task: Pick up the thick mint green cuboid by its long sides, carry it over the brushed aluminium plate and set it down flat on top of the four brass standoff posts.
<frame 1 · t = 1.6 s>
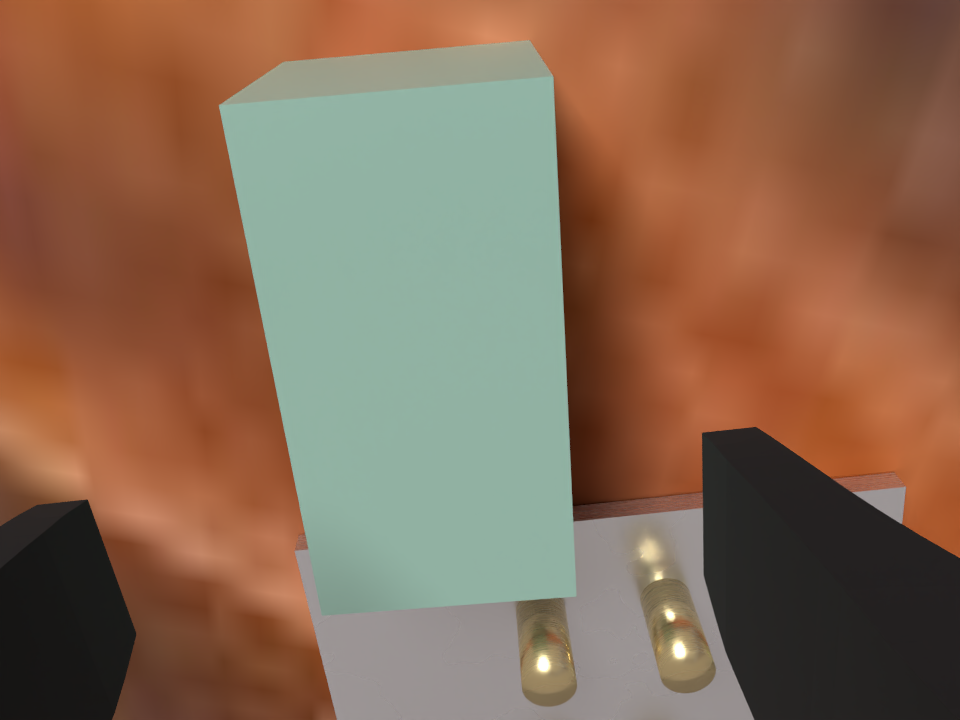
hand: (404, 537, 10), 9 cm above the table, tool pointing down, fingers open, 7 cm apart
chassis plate: (606, 692, 23), on the table
mint green cuboid: (431, 275, 19), on the table
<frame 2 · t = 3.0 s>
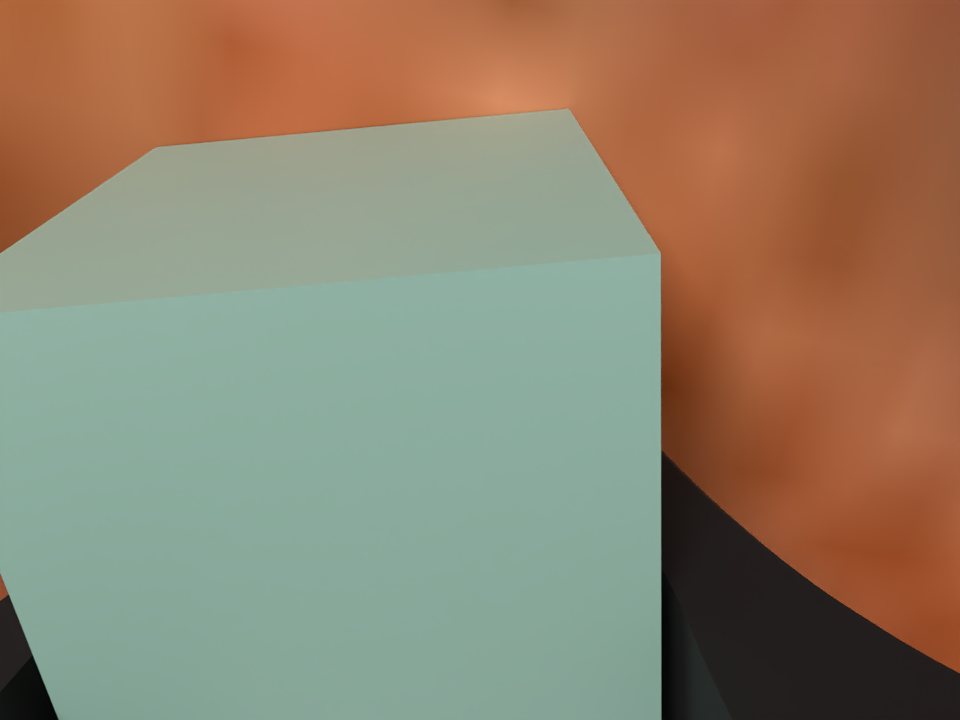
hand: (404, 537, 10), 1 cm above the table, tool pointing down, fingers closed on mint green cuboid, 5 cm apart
mint green cuboid: (410, 472, 12), on the table, touching gripper
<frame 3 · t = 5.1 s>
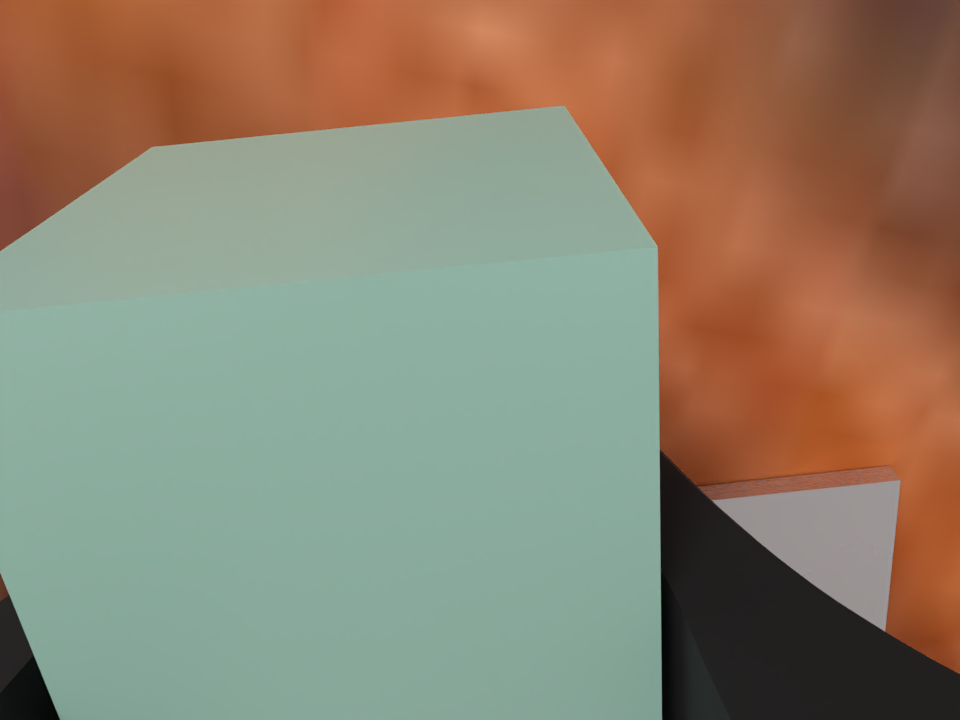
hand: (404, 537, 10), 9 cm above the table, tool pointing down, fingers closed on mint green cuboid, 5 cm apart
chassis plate: (603, 687, 24), on the table
mint green cuboid: (409, 470, 12), point 7 cm above the table, touching gripper
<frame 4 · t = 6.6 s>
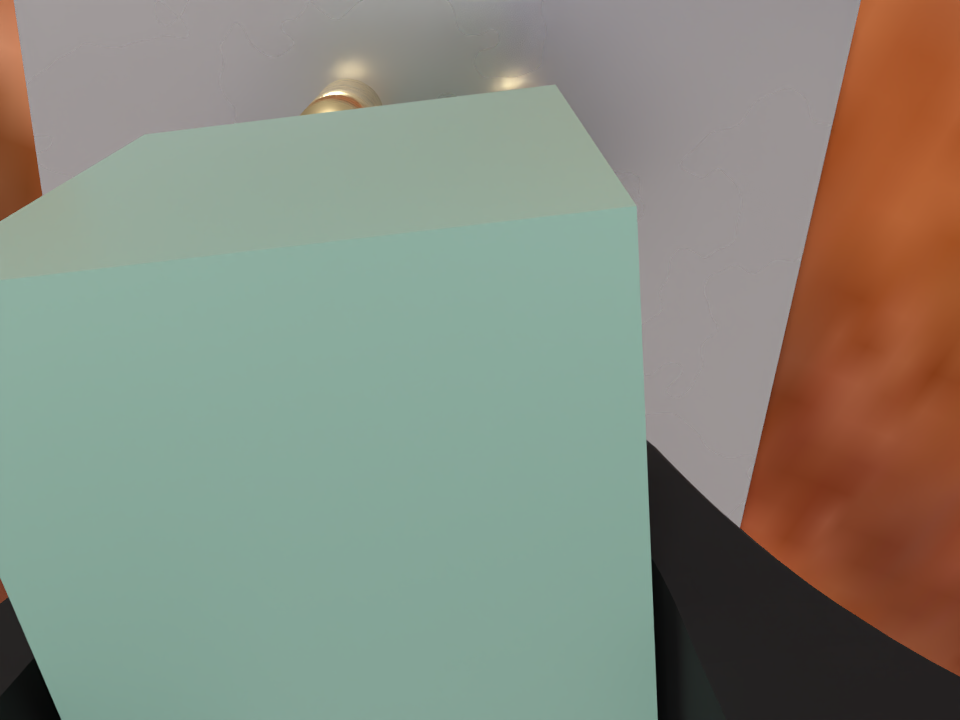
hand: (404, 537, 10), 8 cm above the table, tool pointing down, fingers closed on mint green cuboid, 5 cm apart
standoff posts: (425, 330, 16), on the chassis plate, point 1 cm above the table
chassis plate: (428, 294, 18), on the table
mint green cuboid: (408, 456, 12), point 6 cm above the table, touching gripper
when the fingers open (5 cm above the table, at t = 7.7 s): mint green cuboid stays where it is, resting on standoff posts.
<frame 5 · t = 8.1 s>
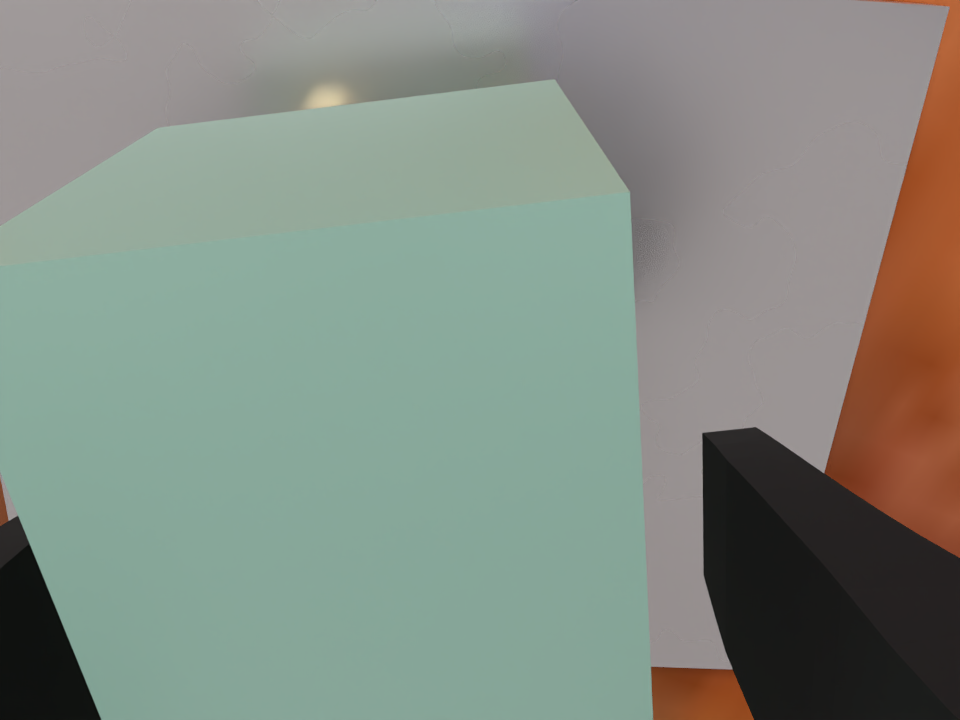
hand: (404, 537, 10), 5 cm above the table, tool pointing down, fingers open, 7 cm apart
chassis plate: (421, 359, 15), on the table
mint green cuboid: (412, 440, 12), point 3 cm above the table, touching standoff posts
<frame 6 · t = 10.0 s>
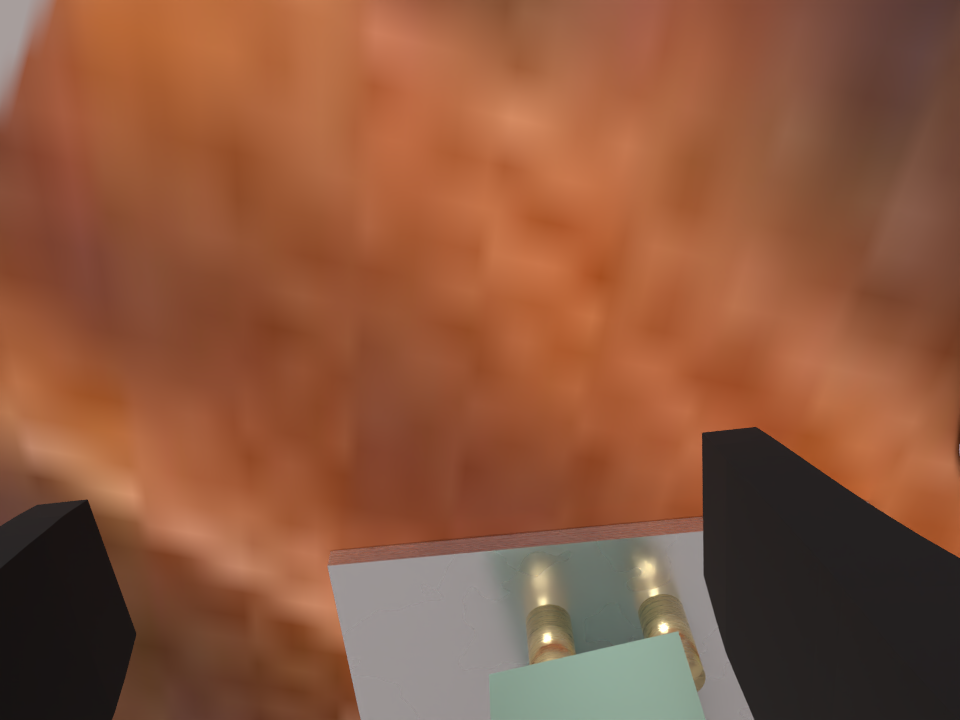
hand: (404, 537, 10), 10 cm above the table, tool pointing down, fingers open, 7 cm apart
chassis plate: (606, 696, 26), on the table
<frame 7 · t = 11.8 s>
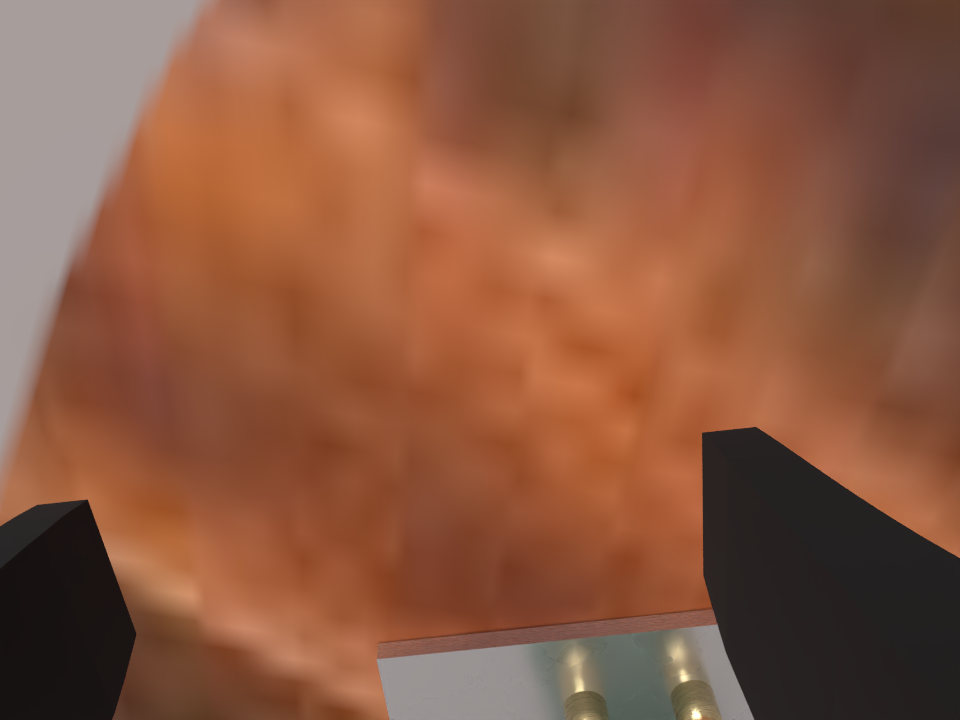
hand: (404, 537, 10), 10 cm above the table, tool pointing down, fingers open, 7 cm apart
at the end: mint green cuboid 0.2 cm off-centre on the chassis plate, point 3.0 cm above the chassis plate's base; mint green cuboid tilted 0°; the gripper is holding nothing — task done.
